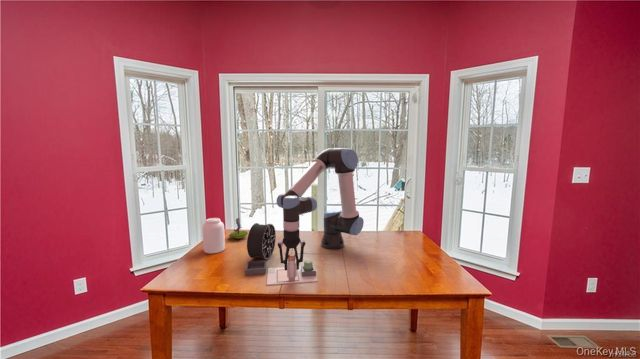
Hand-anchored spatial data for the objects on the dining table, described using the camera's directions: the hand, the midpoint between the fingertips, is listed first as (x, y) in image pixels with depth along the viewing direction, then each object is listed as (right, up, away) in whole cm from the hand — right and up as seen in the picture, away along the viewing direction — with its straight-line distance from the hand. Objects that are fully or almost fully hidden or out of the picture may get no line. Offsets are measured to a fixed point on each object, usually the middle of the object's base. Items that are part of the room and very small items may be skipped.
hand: (291, 275), depth 129 cm
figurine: (-44, +5, +60) cm, 75 cm away
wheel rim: (-20, +1, +28) cm, 34 cm away
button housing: (+8, -2, +7) cm, 11 cm away
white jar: (-52, +2, +38) cm, 65 cm away
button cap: (+8, 0, +7) cm, 10 cm away
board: (-1, -2, +6) cm, 6 cm away
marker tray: (-20, -1, +11) cm, 23 cm away
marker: (0, -2, 0) cm, 2 cm away
